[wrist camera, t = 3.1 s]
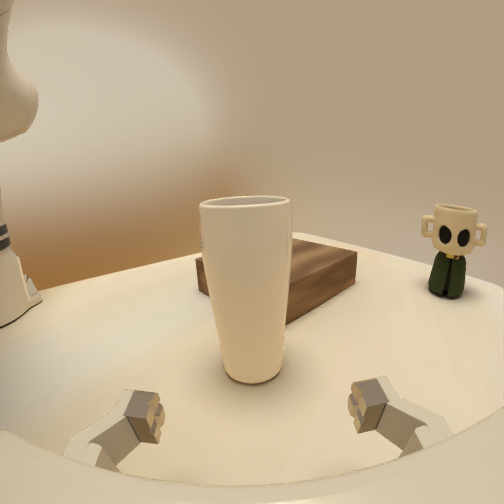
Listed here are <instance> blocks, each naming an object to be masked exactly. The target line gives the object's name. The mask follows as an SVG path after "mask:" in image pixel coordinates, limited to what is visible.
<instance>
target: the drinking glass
mask: <svg viewBox="0 0 504 504" xmlns="http://www.w3.org/2000/svg"><path fill="white" fill-rule="evenodd" d="M199 224H200V240H201V249H202V258H203V264H204V270H205V275H206V280H207V285H208V290H209V295H210V300H211V304H212V309H213V314H214V318H215V323H216V328H217V332H218V337H219V341H220V346H221V350H222V357H223V364H224V368H225V370H226V372H227V374H228V375H229V376H230V377H232V378H233V379H235V380H237V381H239V382H243V383H261V382H265V381H267V380H269V379H271V378H273V377H274V376H275V375H277V373H278V372H279V371H280V369H281V366H282V358H283V342H284V332H285V323H286V314H287V304H288V295H289V285H290V275H291V263H292V216H291V201H290V199H288V198H285V197H279V196H278V197H277V196H240V197H227V198H219V199H212V200H207V201H204V202H201V203H200V204H199Z"/></svg>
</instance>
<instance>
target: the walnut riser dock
mask: <svg viewBox="0 0 504 504" xmlns="http://www.w3.org/2000/svg"><path fill="white" fill-rule="evenodd" d="M195 260H196V269H197V277H198V286H199V290H200V291H201V292H203V293H205V294H207V295H208V296H210V295H209V290H208V285H207V280H206V275H205V270H204V264H203V258H202V257H200V258H197V259H195ZM356 265H357V252H355V251H350V250H346V249H341V248H336V247H332V246H327V245H322V244H317V243H313V242H308V241H303V240H298V239H293V238H292V263H291V275H290V285H289V295H288V304H287V314H286V323H285V325H287V324H289V323H290V322H292V321H294V320H295V319H297V318H299V317H301V316H302V315H304V314H306V313H307V312H309V311H311V310H312V309H314V308H316V307H317V306H319V305H321V304H322V303H324V302H325V301H327V300H329V299H330V298H332V297H333V296H335V295H337V294H338V293H340V292H341V291H343V290H345V289H346V288H348V287H349V286H351V285H352V284H354V283H355V277H356Z"/></svg>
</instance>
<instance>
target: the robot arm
mask: <svg viewBox="0 0 504 504" xmlns="http://www.w3.org/2000/svg"><path fill="white" fill-rule="evenodd" d="M13 2H14V0H0V142H4V141H6V140H9V139H11V138H13V137H16V136H18V135H20V134H22V133H25V132H26V131H27V130H28V129H29V127H30V126H31V124H32V122H33V120H34V118H35V116H36V113H37V109H38V94H37V90H36V88H35V86H34V84H33V83H32V82H31V81H30V80H28V79H26V78H25V77H23V76H22V75H20V74H19V73H18V72H17V71H16V70H15V69H14V68H13V66H12V64H11V62H10V60H9V57H8V54H7V33H8V25H9V20H10V15H11V10H12V6H13ZM40 301H41V297H40V294H39V293H38V291H37V289H36V287H35V285H34V284H33V282H32V280H31V278H28V277H27V276H26V275H23V272H22V268H21V264H20V260H19V257H17V255H16V254H15V253H14V252H13V251H12V249H11V247H10V239H9V232H8V230H7V226H6V224H4V218H3V211H2V202H1V191H0V326H3V325H5V324H7V323H9V322H11V321H13V320H15V319H16V318H18V317H19V316H21V315H22V314H23V313H24V312H25V311H26V310H28V309H29V308H30V307H32V306H34V305H35V304H37V303H39V302H40ZM351 391H352V393H351V394H350V395H349V398H348V409H349V413H350V415H351V416H352V417H354V418H355V419H354V422H353V423H354V425H355V428H356V431H357V433H363V432H367V431H372V430H376V431H377V432H378V433H380V434H381V435H382V436H384V437H385V438H386V439H388V440H389V441H391V442H392V443H393V444H395V445H396V446H398V447H399V448H400V449H402V450H403V451H402V453H401V454H400V456H399V458H397V459H394V460H391V461H388V462H385V463H382V464H379V465H375V466H372V467H368V468H365V469H361V470H357V471H353V472H348V473H344V474H339V475H335V476H329V477H324V478H318V479H312V480H305V481H298V482H290V483H280V484H267V485H244V486H222V485H199V484H187V483H177V482H169V481H161V480H155V479H149V478H143V477H138V476H133V475H128V474H123V473H121V472H120V470H119V469H118V468H117V467H116V465H117V464H118V463H119V462H120V461H121V460H122V459H124V458H125V457H126V456H127V455H128V454H129V453H130V452H131V451H132V450H133V449H134V448H135V447H137V446H138V445H139V444H140V442H144V443H153V444H159V440H160V436H161V431H160V429H159V428H160V427H162V426H163V425H164V421H165V412H164V408H163V406H162V405H161V404H160V403H159V401H160V397H159V395H158V393H154V392H145V391H137V390H128V389H125V390H124V391H123V392H122V394H121V396H120V398H119V400H118V402H117V404H116V406H115V409H114V411H113V413H112V414H108V415H106V416H105V417H103V418H101V419H100V420H98V421H97V422H95V423H93V424H92V425H90V426H88V427H87V428H85V429H84V430H82V431H80V432H79V433H77V434H75V435H74V436H72V438H71V440H70V442H69V444H68V445H67V447H66V449H65V451H64V453H63V455H60V454H58V453H55V452H53V451H50V450H48V449H45V448H43V447H41V446H38V445H36V444H34V443H32V442H30V441H27V440H25V439H23V438H21V437H19V436H17V435H15V434H14V433H12V432H10V431H7V430H2V431H0V504H504V407H502V408H500V409H499V410H497V411H496V412H494V413H493V414H491V415H489V416H488V417H486V418H484V419H483V420H481V421H479V422H478V423H476V424H474V425H472V426H470V427H468V428H467V429H465V430H463V431H461V432H459V433H457V434H454V433H453V431H452V430H451V428H450V427H449V425H448V424H447V422H446V421H445V419H444V418H443V417H442V416H440V415H438V414H435V413H433V412H431V411H429V410H427V409H425V408H423V407H421V406H418V405H416V404H414V403H412V402H410V401H408V400H406V399H404V398H402V399H400V397H399V396H398V394H397V392H396V391H395V389H394V388H393V386H392V384H391V383H390V381H389V380H388V378H387V377H386V376H381V377H376V378H372V379H367V380H362V381H358V382H353V383H352V386H351Z"/></svg>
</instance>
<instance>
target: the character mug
mask: <svg viewBox="0 0 504 504" xmlns="http://www.w3.org/2000/svg"><path fill="white" fill-rule="evenodd" d="M428 222H433V223H434V225H433V232H431V231H427V228H428ZM476 230H481V238H480V240H478V239H475V234H476ZM421 233H422V236H424V237H429V238H432V242H433V246H434V248H436V249H438V250H439V251H440V252H438V254H437V255H436V257H435V260H434V264H433V267H432V271H431V274H430V278H429V282H428V284H429V288H430V289H431V290H432V291H433V292H436V293H438V294H441V295H442V293H443V290H448V295H447V296H458V295H461V294H462V292H463V290H464V283H465V271H466V260H465V257H464V255H467V254H470V253H471V252H472V250H473V248H474V245H476V246H481V247H482V246H484V245H485V243H486V236H487V226H486V225H485V224H481V223H477V211H476V210H474V209H471V208H467V207H462V206H457V205H449V204H437V205H435V211H434V216H429V215H424V216H423V218H422V230H421Z"/></svg>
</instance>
